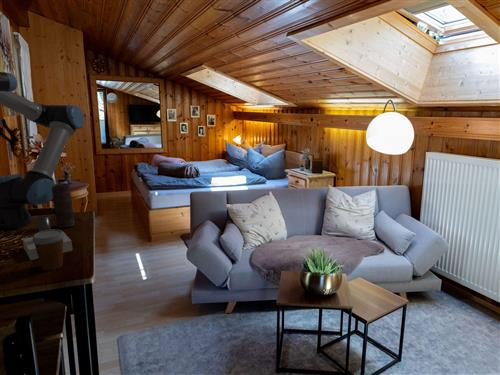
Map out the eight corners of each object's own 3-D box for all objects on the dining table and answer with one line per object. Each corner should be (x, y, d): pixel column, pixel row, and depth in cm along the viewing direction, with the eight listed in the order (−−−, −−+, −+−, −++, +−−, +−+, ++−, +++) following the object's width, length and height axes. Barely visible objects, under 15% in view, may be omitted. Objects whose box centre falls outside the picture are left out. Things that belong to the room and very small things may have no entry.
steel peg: (41, 249, 139) (36, 217, 136) (52, 246, 141) (48, 215, 138) (43, 252, 136) (38, 219, 133) (54, 249, 138) (50, 217, 135)
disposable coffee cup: (44, 261, 128) (40, 229, 125) (72, 260, 129) (68, 228, 126) (30, 273, 119) (25, 239, 116) (60, 272, 119) (56, 238, 117)
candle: (67, 229, 160) (61, 186, 156) (52, 228, 162) (47, 185, 157) (78, 224, 168) (73, 182, 163) (64, 223, 169) (59, 182, 164)
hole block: (24, 248, 139) (22, 239, 138) (63, 240, 148) (62, 230, 147) (30, 260, 129) (29, 249, 128) (72, 250, 137) (71, 240, 137)
